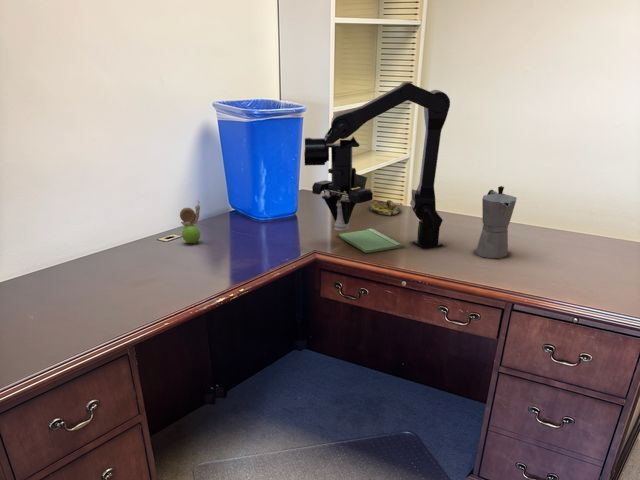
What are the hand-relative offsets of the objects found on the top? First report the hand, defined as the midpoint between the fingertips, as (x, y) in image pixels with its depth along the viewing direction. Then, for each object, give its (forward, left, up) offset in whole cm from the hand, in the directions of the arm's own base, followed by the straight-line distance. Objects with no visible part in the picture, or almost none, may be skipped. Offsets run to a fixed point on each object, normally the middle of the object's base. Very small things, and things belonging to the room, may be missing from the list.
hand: (341, 222), depth 172 cm
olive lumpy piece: (+30, -31, -7) cm, 44 cm away
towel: (0, -9, -7) cm, 12 cm away
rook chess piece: (0, 0, -2) cm, 2 cm away
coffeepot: (-24, -35, -7) cm, 43 cm away
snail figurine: (+23, +39, -7) cm, 46 cm away
